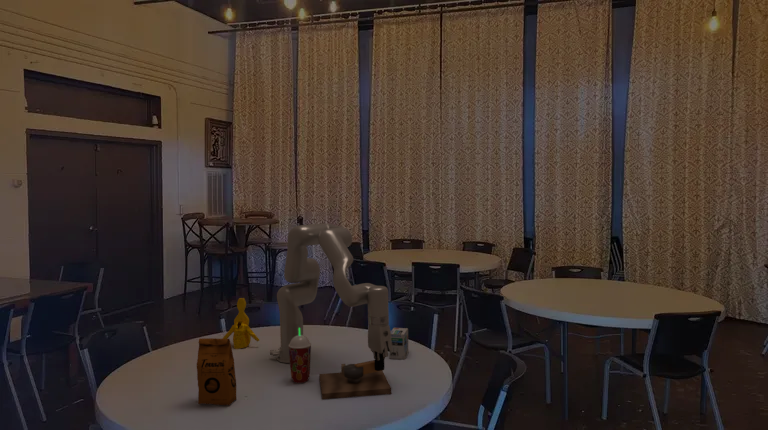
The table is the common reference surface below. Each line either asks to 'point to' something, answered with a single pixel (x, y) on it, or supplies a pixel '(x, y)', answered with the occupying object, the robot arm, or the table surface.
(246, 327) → the figure statuette
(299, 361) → the smoothie
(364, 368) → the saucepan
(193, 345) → the table surface
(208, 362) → the coffee package
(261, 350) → the table surface
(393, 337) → the light bulb box
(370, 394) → the wooden board with lever
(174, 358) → the table surface
